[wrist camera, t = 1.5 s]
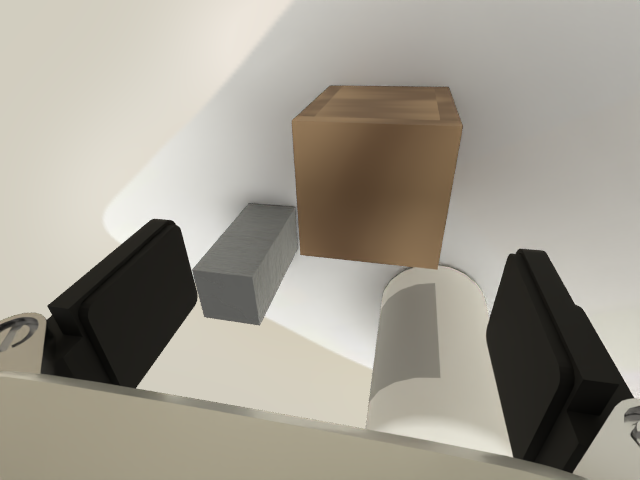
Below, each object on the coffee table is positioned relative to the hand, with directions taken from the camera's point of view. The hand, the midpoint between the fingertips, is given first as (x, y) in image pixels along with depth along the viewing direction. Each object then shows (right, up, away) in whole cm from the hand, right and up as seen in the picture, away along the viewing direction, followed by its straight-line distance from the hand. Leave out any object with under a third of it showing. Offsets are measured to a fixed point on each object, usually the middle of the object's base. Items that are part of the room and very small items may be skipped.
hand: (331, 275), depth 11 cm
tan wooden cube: (+3, +6, +10) cm, 12 cm away
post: (-3, +2, +14) cm, 15 cm away
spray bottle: (+7, -3, +15) cm, 17 cm away
